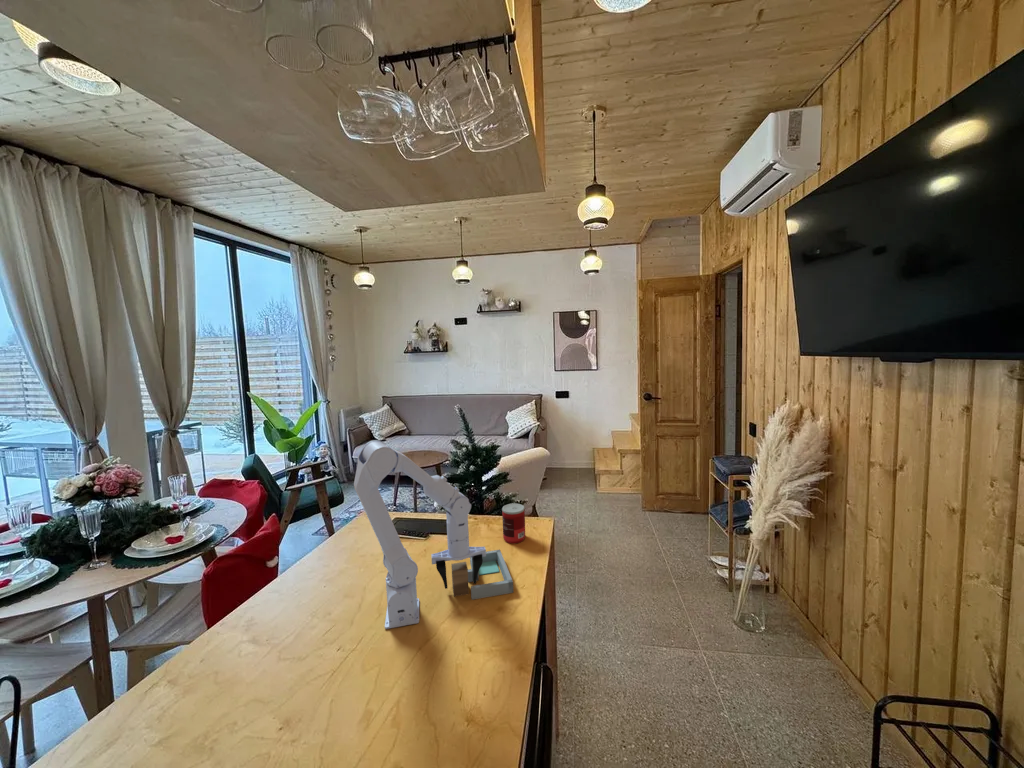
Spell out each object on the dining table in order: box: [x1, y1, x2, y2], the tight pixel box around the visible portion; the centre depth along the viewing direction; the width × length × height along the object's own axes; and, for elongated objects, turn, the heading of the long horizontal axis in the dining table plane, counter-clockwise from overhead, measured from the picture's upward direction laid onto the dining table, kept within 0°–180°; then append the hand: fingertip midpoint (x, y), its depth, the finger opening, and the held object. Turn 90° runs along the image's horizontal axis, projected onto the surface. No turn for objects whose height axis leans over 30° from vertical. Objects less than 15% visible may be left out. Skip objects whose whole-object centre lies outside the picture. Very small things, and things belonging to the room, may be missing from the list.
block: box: [451, 561, 470, 597], centre depth 109 cm, size 4×4×7 cm
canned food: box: [501, 502, 526, 544], centre depth 138 cm, size 8×8×11 cm
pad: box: [478, 561, 500, 576], centre depth 120 cm, size 6×6×1 cm
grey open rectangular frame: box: [468, 549, 514, 601], centre depth 115 cm, size 18×11×3 cm, turn 13°
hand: (460, 584), depth 109 cm, fingers open, 7 cm apart
